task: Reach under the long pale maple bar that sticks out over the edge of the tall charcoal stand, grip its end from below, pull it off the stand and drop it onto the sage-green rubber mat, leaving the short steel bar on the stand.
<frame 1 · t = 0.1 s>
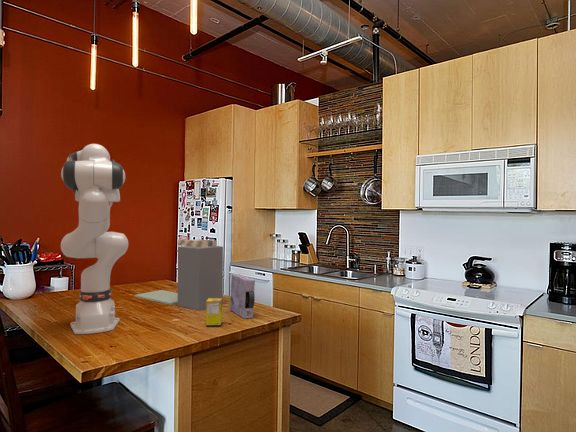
hand: (98, 210, 194), 48 cm above the countertop, tool pointing down, fingers open, 8 cm apart
cake pan box: (241, 314, 183), on the countertop
long maple bar: (192, 246, 203), point 30 cm above the countertop, touching charcoal stand
supplement box: (214, 325, 165), on the countertop
charcoal stand: (200, 305, 200), on the countertop
short steel bar: (206, 245, 204), point 30 cm above the countertop, touching charcoal stand
sage mat: (165, 297, 216), on the countertop
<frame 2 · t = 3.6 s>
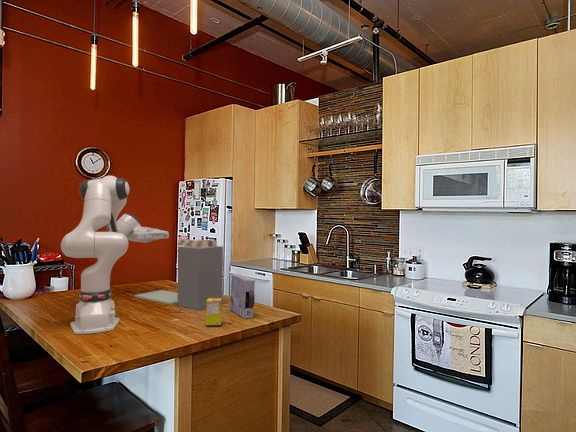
hand: (159, 236, 214), 34 cm above the countertop, tool horizontal, fingers open, 8 cm apart
nothing on the countertop moved.
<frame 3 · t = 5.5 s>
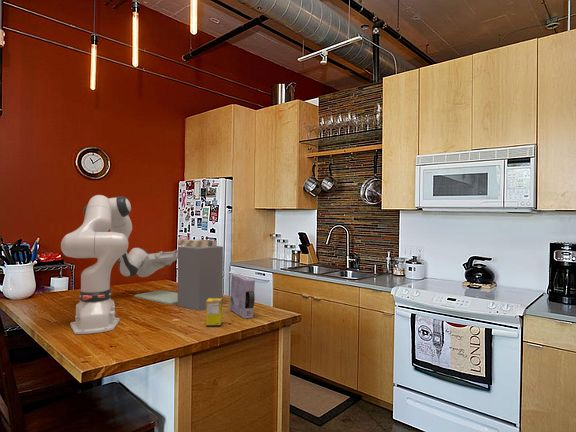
hand: (169, 251, 214), 26 cm above the countertop, tool pointing upward, fingers open, 8 cm apart
nothing on the countertop moved.
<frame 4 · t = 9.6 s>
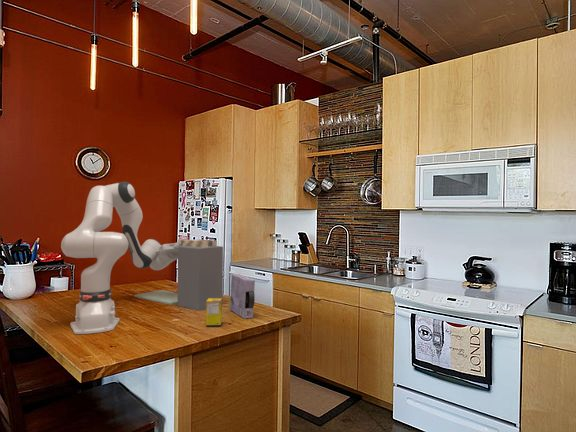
hand: (184, 241, 207), 32 cm above the countertop, tool pointing upward, fingers closed on long maple bar, 3 cm apart
long maple bar: (192, 246, 203), point 30 cm above the countertop, touching charcoal stand, gripper
everything else where it was.
when the fingers open (21 cm above the countertop, at t = 18.4 s): long maple bar drops 17 cm and tips over, resting on sage mat.
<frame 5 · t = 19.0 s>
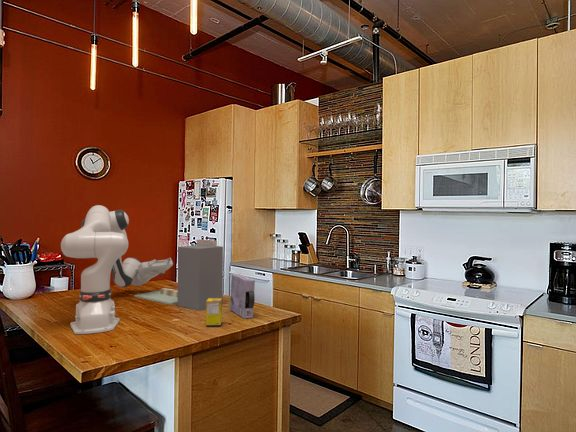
hand: (163, 259, 218), 21 cm above the countertop, tool pointing upward, fingers open, 8 cm apart
long maple bar: (171, 293, 216), point 2 cm above the countertop, tilted 90°, touching sage mat
everything else where it was.
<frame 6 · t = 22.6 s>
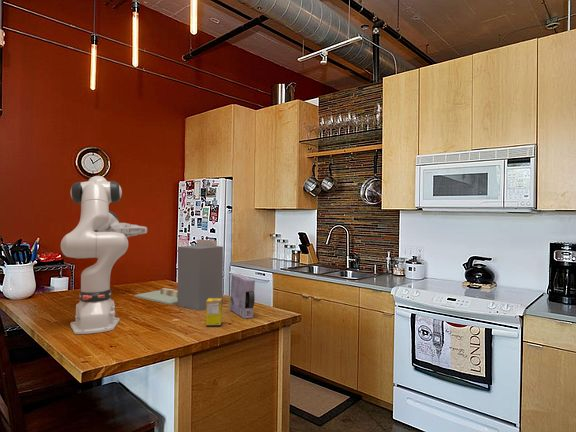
hand: (137, 230, 213), 37 cm above the countertop, tool horizontal, fingers open, 8 cm apart
nothing on the countertop moved.
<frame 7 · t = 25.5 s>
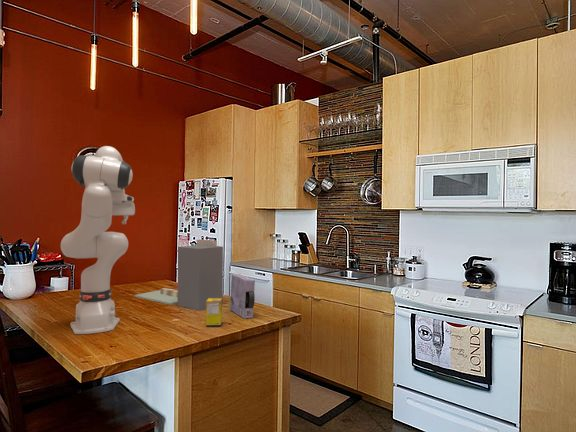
hand: (115, 224, 201), 41 cm above the countertop, tool pointing down, fingers open, 8 cm apart
nothing on the countertop moved.
at the end: long maple bar inside the target area on the sage mat (3.4 cm from its centre), point 2.5 cm above the sage mat's base; the gripper is holding nothing; short steel bar moved 0.0 cm from its start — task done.
